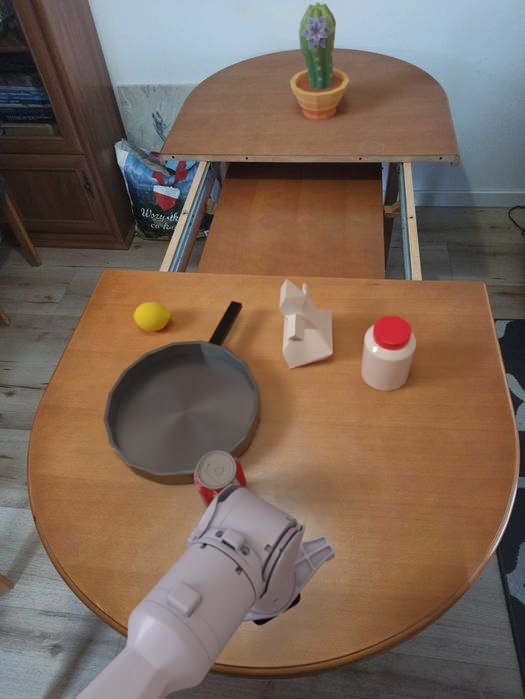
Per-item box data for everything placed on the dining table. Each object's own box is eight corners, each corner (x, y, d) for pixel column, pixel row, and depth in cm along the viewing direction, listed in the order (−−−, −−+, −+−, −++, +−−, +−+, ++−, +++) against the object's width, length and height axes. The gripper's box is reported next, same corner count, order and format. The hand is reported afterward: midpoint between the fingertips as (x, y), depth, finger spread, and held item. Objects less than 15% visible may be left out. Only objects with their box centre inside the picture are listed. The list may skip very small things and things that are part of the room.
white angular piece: (331, 311, 91) (333, 255, 80) (332, 375, 82) (334, 322, 71) (285, 311, 92) (281, 256, 81) (281, 374, 83) (276, 322, 72)
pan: (222, 507, 70) (218, 498, 67) (83, 455, 77) (74, 444, 74) (300, 330, 89) (299, 317, 86) (182, 301, 95) (178, 287, 92)
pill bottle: (356, 385, 81) (361, 344, 72) (364, 348, 85) (370, 306, 76) (404, 395, 79) (416, 354, 70) (410, 357, 83) (422, 314, 74)
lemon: (134, 337, 91) (125, 317, 87) (140, 314, 94) (132, 295, 90) (171, 337, 90) (164, 317, 86) (176, 314, 94) (170, 295, 89)
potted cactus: (279, 116, 134) (272, 10, 114) (313, 91, 141) (312, -13, 121) (325, 132, 127) (327, 23, 107) (359, 105, 134) (367, -2, 114)
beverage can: (259, 494, 71) (250, 459, 62) (236, 533, 68) (223, 502, 59) (223, 475, 73) (209, 438, 64) (199, 511, 70) (181, 478, 61)
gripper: (308, 491, 47) (309, 534, 58) (168, 568, 44) (197, 598, 55) (350, 559, 43) (343, 592, 54) (198, 650, 40) (223, 665, 51)
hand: (271, 599), depth 54 cm, fingers closed
